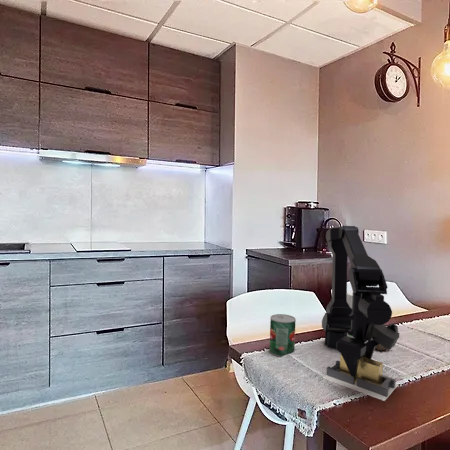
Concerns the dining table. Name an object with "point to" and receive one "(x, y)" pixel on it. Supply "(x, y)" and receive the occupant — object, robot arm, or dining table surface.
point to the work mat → (360, 388)
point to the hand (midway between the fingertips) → (360, 370)
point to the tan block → (366, 369)
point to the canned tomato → (282, 334)
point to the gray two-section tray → (362, 380)
